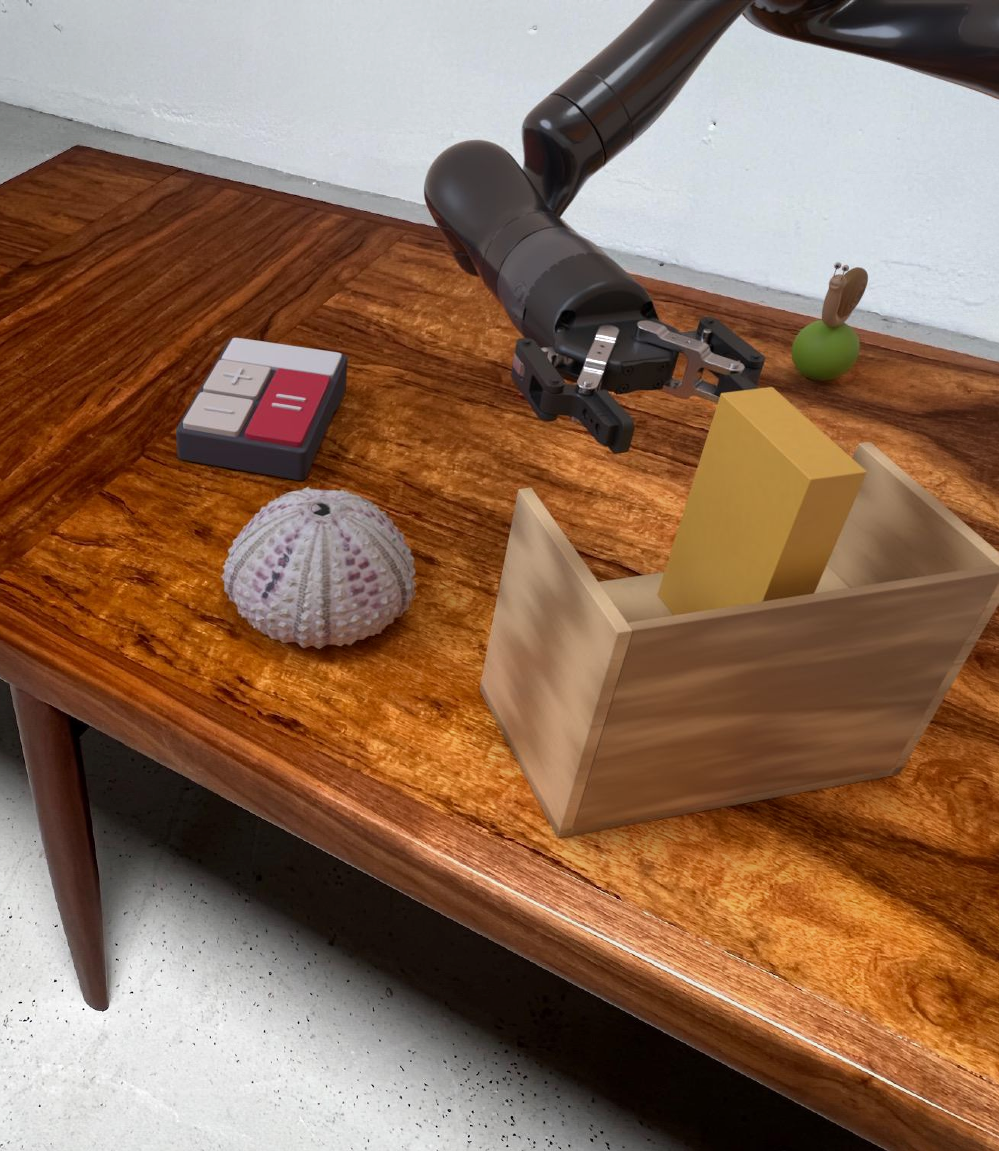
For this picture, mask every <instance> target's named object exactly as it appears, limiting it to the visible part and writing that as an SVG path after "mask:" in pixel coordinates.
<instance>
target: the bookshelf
mask: <svg viewBox="0 0 999 1151" xmlns="http://www.w3.org/2000/svg"><path fill="white" fill-rule="evenodd" d="M851 458H852V459H853V460H855V461H856V462H857V463H858V464H859V465H860V466H861V467H862V468H863V469H865V470H866V471H867V473H866V476H865V478H864V480H863V483H862V485H861V487H860V489H859V492H858V494H857V496H856V499H855V501H854V503H853V506H852V508H851V510H850V512H849V515H848V517H847V519H846V522H845V524H844V526H843V529H842V531H841V533H840V535H839V538H838V540H837V542H836V545H835V547H834V549H833V552H832V554H831V556H830V558H829V561H828V563H827V565H826V568H825V570H824V572H823V575H822V577H821V579H820V581H819V584H818V586H817V588H816V591H815V593H814V594H808V595H801V596H795V597H788V598H782V599H776V600H769V601H763V602H757V603H750V604H744V605H737V606H731V607H725V608H718V609H712V610H706V611H699V612H693V613H686V614H680V615H674V616H673V614H672V613H671V612H670V610H669V609H668V608H667V606H666V605H665V604H664V602H663V601H662V600H661V598H660V597H659V596H658V591H659V588H660V585H661V581H662V578H663V575H664V572H665V571H663V572H656V573H650V574H642V575H636V576H635V575H634V576H630V577H623V578H615V579H609V580H603V581H602V580H601V581H598V579H597V578H596V576H595V575H594V573H593V572H592V571H591V569H590V568H589V566H588V565H587V563H586V562H585V561H584V559H583V558H582V557H581V556H580V554H579V553H578V551H577V549H576V548H575V547H574V545H573V544H572V543H571V541H570V539H569V538H568V537H567V535H566V534H565V532H564V531H563V530H562V529H561V527H560V525H559V524H558V523H557V522H556V520H555V519H554V517H553V516H552V514H551V513H550V512H549V510H548V509H547V508H546V506H545V505H544V503H543V502H542V501H541V499H540V497H539V496H538V495H537V493H536V492H535V491H534V489H533V488H532V487H524V488H518V489H517V494H516V499H515V504H514V509H513V514H512V520H511V524H510V531H509V534H508V535H509V536H508V540H507V546H506V550H505V556H504V561H503V566H502V570H501V571H502V572H501V576H500V580H499V587H498V593H497V597H496V603H495V606H494V612H493V618H492V622H491V628H490V632H489V638H488V643H487V649H486V654H485V659H484V664H483V669H482V673H481V674H482V675H481V679H480V683H479V692H480V694H481V695H482V697H483V699H484V701H485V703H486V705H487V707H488V709H489V710H490V712H491V714H492V716H493V718H494V720H495V723H496V724H497V726H498V728H499V729H500V731H501V734H502V735H503V737H504V739H505V741H506V743H507V744H508V746H509V749H510V751H511V753H512V754H513V757H514V758H515V760H516V762H517V764H518V765H519V768H520V769H521V772H522V774H523V776H524V777H525V779H526V781H527V782H528V785H529V786H530V789H531V790H532V792H533V794H534V796H535V798H536V800H537V803H538V804H539V805H540V808H541V810H542V812H543V813H544V816H545V817H546V819H547V821H548V823H549V825H550V827H551V828H552V831H553V833H554V835H555V836H556V838H557V839H560V838H565V837H570V836H577V835H582V834H587V833H592V832H599V831H604V830H609V829H613V828H614V829H615V828H618V827H625V826H630V825H636V824H640V823H647V822H652V821H657V820H663V819H668V818H673V817H678V816H683V815H690V814H695V813H699V812H704V811H710V810H714V809H715V810H716V809H721V808H727V807H732V806H737V805H743V804H747V803H752V802H759V801H764V800H769V799H775V798H779V797H786V796H790V795H796V794H802V793H806V792H807V793H808V792H813V791H818V790H822V789H823V790H824V789H827V788H833V787H838V786H839V787H840V786H843V785H844V786H845V785H850V784H854V783H860V782H865V781H871V780H876V779H881V778H886V777H892V776H898V775H900V774H901V773H902V772H903V771H904V769H905V767H906V764H908V761H909V760H910V757H911V756H912V754H913V752H914V751H915V749H916V747H917V746H918V743H919V742H920V741H921V739H922V738H923V735H924V734H925V732H926V730H927V729H928V727H929V726H930V724H931V722H932V720H933V718H934V716H935V715H936V713H937V711H938V710H939V707H940V706H941V704H942V703H943V701H944V699H945V698H946V696H947V695H948V692H949V691H950V689H951V687H952V685H953V684H954V682H955V680H956V678H957V677H958V675H959V673H960V671H961V670H962V668H963V666H964V664H965V663H966V662H967V659H968V658H969V656H970V654H971V652H973V649H974V647H975V646H976V644H977V642H978V640H979V639H980V637H981V635H983V634H982V633H983V632H984V630H985V628H986V627H987V625H988V623H989V622H990V620H991V618H992V617H993V615H994V613H995V612H996V610H997V608H998V606H999V551H998V550H997V549H996V548H994V547H993V546H992V545H991V544H990V543H988V542H987V541H986V540H985V539H984V538H983V537H981V535H979V534H978V533H977V532H976V531H974V529H972V528H971V527H970V526H969V525H967V523H965V522H964V521H963V520H962V519H960V518H959V516H957V515H956V514H955V513H954V512H953V511H951V510H950V509H949V508H948V507H947V506H946V505H945V504H943V503H942V502H941V501H940V500H939V499H938V498H936V497H935V496H934V495H933V494H931V493H930V492H929V491H928V490H927V489H926V488H924V487H923V486H922V485H921V484H920V483H919V482H917V481H916V480H915V479H914V478H913V477H912V476H911V475H910V474H908V473H907V472H905V470H903V468H901V467H900V466H899V465H897V463H895V462H894V461H893V460H892V459H891V458H889V457H888V456H887V455H886V454H885V453H884V452H882V451H881V449H879V448H878V447H876V446H875V445H874V444H873V443H872V442H871V441H866V442H865V441H864V442H858V444H857V446H856V448H855V451H854V453H853V455H852V456H851Z"/></svg>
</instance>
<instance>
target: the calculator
mask: <svg viewBox="0 0 999 1151" xmlns="http://www.w3.org/2000/svg"><path fill="white" fill-rule="evenodd" d="M348 360H349V359H348V356H347V354H344V353H341V352H337V351H332V350H331V351H330V350H323V349H317V348H311V347H303V346H298V345H297V346H295V345H291V344H282V343H276V342H270V341H269V342H268V341H262V340H257V339H256V340H255V339H250V338H249V339H248V338H241V337H232V338H230V339H228V341H227V343H226V344H225V345H224V348H223V349H222V351H221V353H220V354H219V356H218V357H217V359H216V361H215V362H214V363H213V364H214V365H213V366H212V368H211V369H210V371H209V373H208V374H207V376H206V378H205V380H204V381H203V383H202V385H201V386H200V388H199V390H198V391H197V392H196V395H195V396H194V398H193V400H192V401H191V403H190V405H189V406H188V407H187V409H186V412H185V413H184V415H183V417H182V418H181V420H180V422H179V423H178V425H177V427H175V428H176V429H175V437H176V450H177V451H176V452H177V458H178V459H179V460H181V461H184V462H192V463H197V464H203V465H209V466H213V467H214V466H215V467H221V468H225V469H232V470H237V471H243V472H249V473H254V474H259V475H260V474H261V475H265V476H272V477H277V478H281V479H288V480H293V481H294V480H295V481H304V480H306V478H307V477H308V474H309V471H310V469H311V468H312V466H313V463H314V460H315V458H316V456H317V453H318V451H319V448H320V447H321V443H322V441H323V439H324V438H325V434H326V433H327V430H328V428H329V425H330V423H331V420H332V418H333V416H334V413H335V412H336V411H338V410H339V407H340V406H341V402H342V400H343V398H344V395H345V393H346V390H347V377H348V376H347V375H348V362H349V361H348Z"/></svg>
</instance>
